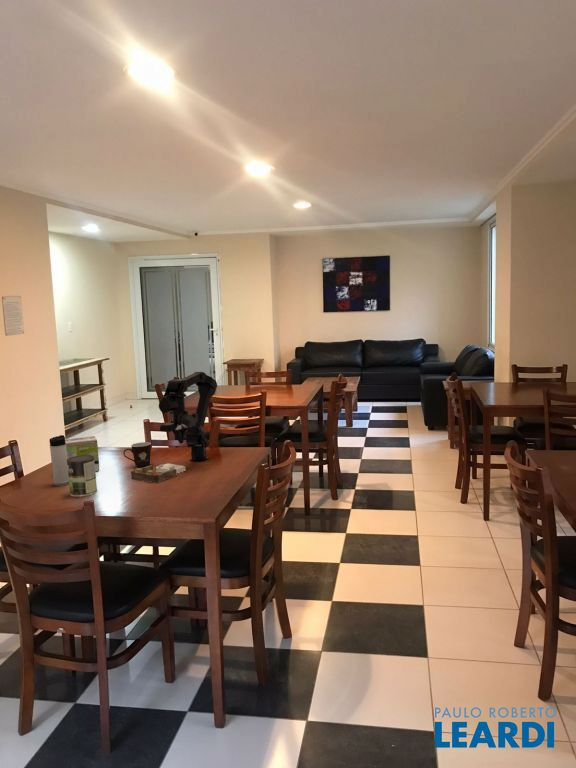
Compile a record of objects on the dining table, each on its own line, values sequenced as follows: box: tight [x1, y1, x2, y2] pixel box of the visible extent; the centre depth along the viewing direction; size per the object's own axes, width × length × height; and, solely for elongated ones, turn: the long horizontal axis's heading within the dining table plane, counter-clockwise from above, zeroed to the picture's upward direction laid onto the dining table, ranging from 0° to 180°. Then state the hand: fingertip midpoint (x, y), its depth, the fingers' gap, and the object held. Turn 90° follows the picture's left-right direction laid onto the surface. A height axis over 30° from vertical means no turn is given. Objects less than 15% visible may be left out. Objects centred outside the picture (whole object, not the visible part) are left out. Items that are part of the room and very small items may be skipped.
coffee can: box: [67, 455, 98, 498], centre depth 242 cm, size 10×10×14 cm
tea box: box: [65, 435, 100, 473], centre depth 274 cm, size 15×10×15 cm
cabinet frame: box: [130, 464, 178, 483], centre depth 259 cm, size 11×15×4 cm
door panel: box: [155, 462, 186, 475], centre depth 267 cm, size 7×11×4 cm, turn 53°
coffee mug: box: [122, 441, 152, 469], centre depth 279 cm, size 12×9×10 cm
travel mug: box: [49, 434, 69, 487], centre depth 256 cm, size 6×7×20 cm
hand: (181, 443), depth 272 cm, fingers closed
